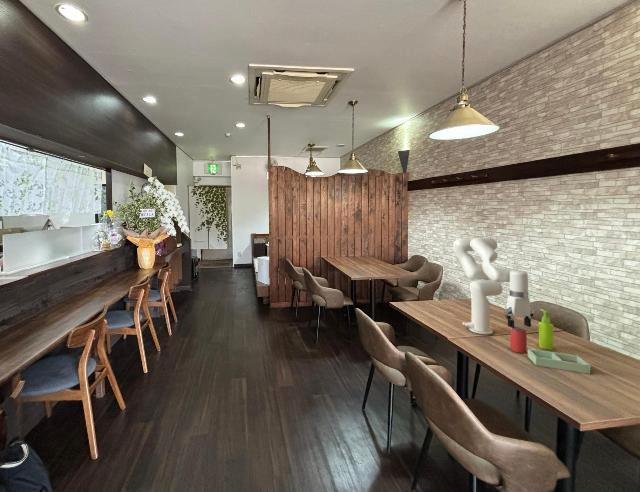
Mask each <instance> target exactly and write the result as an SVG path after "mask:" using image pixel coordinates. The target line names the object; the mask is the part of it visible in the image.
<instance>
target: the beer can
mask: <svg viewBox="0 0 640 492" xmlns="http://www.w3.org/2000/svg"><path fill="white" fill-rule="evenodd" d="M527 338H528V337H527V332H526V329H525V328H523V327H522V326H521V327H520V326H514V328H511V329H510V350H511V351H512V352H515V353H518V354H527V353H528V348H527V347H528V346H527V343H528V342H527V341H528V340H527Z"/></svg>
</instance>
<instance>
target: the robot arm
mask: <svg viewBox="0 0 640 492" xmlns="http://www.w3.org/2000/svg"><path fill="white" fill-rule="evenodd" d="M497 248H498V242H497V240H496V239H495V238H493V237H489V236H487V237H485V236H484V237H474V238H468V237H467V238H457V239H455V241H453V244H452V251H453V254H454V255H455V257H456V258H457V260H458V261H459V263H460V265H461V267H462V269H463V272H464V274H465V276H466V277H467V278H468V279H469V280H472V282H470V283H469V286H468V287H469V293H470V300H471V301H470V304H471V305H470V306H471V307H470V309H471V310H470V311H471V312H470V313H471V316H470V317H471V318H470V319H471V320H469V321H468V322H466V321H462V326H465V327H468V330H469V331H470V332H473V333H475V334H479V335H485V336H486V335H487V336H489V335H493V334H494V330H493V329H492V328H491V303H490V300H489V299H488V298H487V297H493V296H495V297H496V296H500V295H501V294H502V293H503V286H502V284H501V283H509V295H508V297H507V301H506V309H505V310H503V311H502V313H503V314H504V317H505V318H506V319H507V327H510V328H511V329H512V328H514V327H515V320H514V319H515V318H519V317H523V325H524V326H526V327H528V328H531V327H532V319H533V317H534V314H535V309H533V308H531V301H530V297H529V293H530V292H529V275H528V272H527V271H524V270H517V269H516V268H513V267H512V268H511V267H502V268H501V267H500V268H499V267H497V268H496V267H495V266H494V265H493V264H492V263H494V262H495V261H496V260H497V259H498V257H499V254H498V252H497V251H496V250H497ZM469 252H475V254H476V255H477V256H478V257H479V258H480V259H481V260H482V261H481V264H478V262H477V261H476V259H475V257H474V256H473V255H472V254H470V253H469Z"/></svg>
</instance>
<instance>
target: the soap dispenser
mask: <svg viewBox="0 0 640 492" xmlns="http://www.w3.org/2000/svg"><path fill="white" fill-rule="evenodd" d="M539 310H540V311H542V312H543V315H542V316H541V321H538V347H539V348H541V349H542V350H543V349H544V350H546V351H553V350H554V324H553V323H552V322H551V317H550V316H549V314H550V313H551V312H550V311H549V310H547V309H539Z"/></svg>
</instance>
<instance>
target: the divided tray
mask: <svg viewBox="0 0 640 492" xmlns="http://www.w3.org/2000/svg"><path fill="white" fill-rule="evenodd" d="M527 357H528V358H529V360H531V361H532V362H533V364H534V365H535V366H538V367H545V368H551V369H556V370H557V369H558V370H564V371H570V372H576V373H583V374H589V375H590V374H591V364H589V363H588V362H587V361H586V360H584V359H583V358H581V356H579V355H577V354H569V353H561V352H557V351H556V352H555V351H550V350H541V349H535V348H534V349H533V348H527Z"/></svg>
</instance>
